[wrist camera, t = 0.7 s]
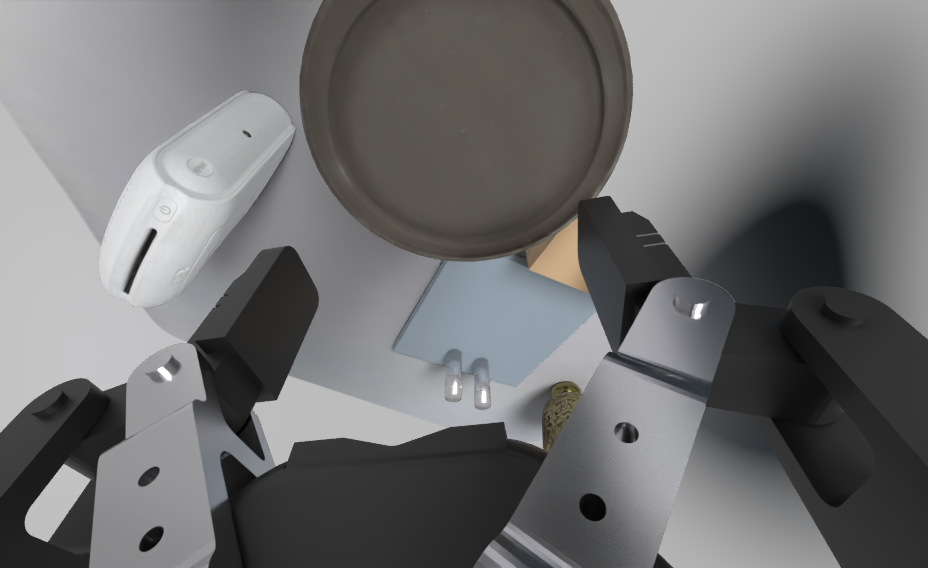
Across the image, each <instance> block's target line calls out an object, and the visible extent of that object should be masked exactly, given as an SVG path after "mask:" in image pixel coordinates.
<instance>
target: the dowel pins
mask: <svg viewBox="0 0 928 568" xmlns="http://www.w3.org/2000/svg"><path fill="white" fill-rule="evenodd" d="M461 396H462V352H461V351H460V350H458V349H451V350H449V351H448V352H447V361H446V382H445V399H446V400H447V401H449V402H458V401H460V400H461ZM474 406H475V408H477V409H479V410H486V409H488V408H490V407H491V400H490V381H489V362H488V360H487V359H486V358H482V357H481V358H477V359H475V360H474Z"/></svg>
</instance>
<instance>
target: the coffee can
mask: <svg viewBox="0 0 928 568" xmlns="http://www.w3.org/2000/svg"><path fill="white" fill-rule="evenodd" d="M632 78H633V76H632V69H631V63H630V54H629V50H628V45H627V41H626V38H625V35H624V31H623V29H622V26H621V23H620V21H619V18H618V15H617V13H616V11H615V9H614V7H613V5H612V4H611V2H610V0H323V2H322V4H321V6H320V8H319V10H318V12H317V14H316V16H315V18H314V20H313V23H312V26H311V29H310V32H309V35H308V38H307V42H306V45H305V49H304V53H303V59H302V66H301V72H300V107H301V115H302V122H303V127H304V132H305V135H306V139H307V142H308V145H309V147H310V150H311V153H312V156H313V159H314V161H315V163H316V166H317V168H318V170H319V172H320V174H321V175H322V177H323V179H324V180H325V182H326V184H327V185H328V187H329V188H330V190H331V191H332V193H333V194H334V195H335V196H336V197H337V199H338V200H339V202H340V203H341V204H342V205H343V206H344V207H345V208H346V209H347V211H348V212H349V213H350V214H351V215H352V216H353V217H355V218H356V219H357V220H358V221H359V222H360V223H361V224H362V225H364V226H365V227H366V228H368V229H369V230H370V231H372V232H373V233H374V234H376V235H378V236H379V237H381V238H383V239H384V240H386V241H388V242H390V243H391V244H393V245H395V246H397V247H399V248H402V249H404V250H407V251H410V252H412V253H415V254H418V255H422V256H425V257H429V258H434V259H439V260H446V261H458V262H475V261H485V260H492V259H498V258H503V257H507V256H510V255H514V254H516V253H519V252H522V251H525V250H527V249H530V248H532V247H534V246H536V245H538V244H540V243H542V242H544V241H546V240H548V239H549V238H551V237H553V236H554V235H556V234H557V233H559V232H560V231H561V230H563V229H564V228H566V227H567V226H568V225H569V224H570V223H571V222H573V221H574V220H575V219H576V218H578V203H579V201H580V200H585V199H592V198H596V197H597V196H598V194H599V193H600V192H601V190H602V189H603V187H604V186H605V184H606V182H607V181H608V179H609V177H610V176H611V174H612V172H613V170H614V168H615V166H616V164H617V162H618V159H619V157H620V155H621V152H622V149H623V146H624V143H625V140H626V137H627V133H628V128H629V122H630V117H631V110H632V96H633V82H632V81H633V79H632Z"/></svg>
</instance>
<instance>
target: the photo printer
mask: <svg viewBox="0 0 928 568" xmlns="http://www.w3.org/2000/svg"><path fill="white" fill-rule="evenodd" d="M291 122H292V121H291V119H290V117H289V115H288V114H287V112H286V111H285V110H284V109H283V107H282V106H281V105H279V104H278V103H277V102H276V101H274V100H273V99H271V98H270V97H268V96H265V95H262V94H259V93H250V92H248V91H247V90H243V91H240V92H238V93H237V94H235V95H233V96H232V97H230V98H229V99H227V100H226V101H224V102H223V103H221V104H220V105H218V106H217V107H215V108H214V109H212V110H211V111H209V112H208V113H206V114H205V115H203V116H202V117H200V118H199V119H197V120H196V121H194V122H193V123H191V124H190V125H188V126H187V127H185V128H184V129H182V130H181V131H179V132H178V133H176V134H175V135H173V136H172V137H171V138H169V139H168V140H166V141H165V142H163V143H162V144H160V145H159V146H157V147H156V148H155V149H154V150H153V151H152V152H151V153H150V154H149V155H148V156H147V157H145V159H144V160H143V161H142V162H141V163H140V164H139V166H138V167H137V168H136V170H135V171H134V173H133V175H132V176H131V178H130V180H129V182H128V183H127V185H126V187H125V189H124V191H123V193H122V195H121V196H120V198H119V200H118V202H117V205H116V207H115V209H114V211H113V214H112V216H111V219H110V221H109V224H108V226H107V229H106V232H105V235H104V238H103V242H102V246H101V250H100V256H99V273H100V278H101V281H102V283H103V286H104V287H105V289H106V291H107V292H108V293H109V295H110V296H112V297H114V298H119V299H123V300H125V301H127V302H128V303H129V304H131V305H132V306H133V307H153V306H158V305H161V304H163V303H166V302H168V301H170V300H171V299H173V298H175V297H177V296H178V295H180V294H181V293H182V292H183V291H184V290H185V289H186V288H187V287H188V285H189V284H190V283H191V282H192V281H193V280H194V279H195V278H196V276H197V274H198V272H199V271H200V270H201V269H202V267H203V266H204V265H205V263H206V262H207V261H208V260H209V258H210V257H211V256H212V254H213V253H214V252H215V251H216V249H217V248H218V247H219V246H220V244H221V243H222V242H223V241H224V239H225V238H226V237H227V235H228V234H229V233H230V232H231V231H232V229H233V228H234V227H235V226H236V225H237V223H238V222H239V221H240V220H241V218H242V217H243V216H244V215H245V214H246V213H247V212H248V211H249V208H250V207H251V206H252V204H253V203H254V202H255V200H256V199H257V197H258V196H259V194H260V193H261V192H262V190H263V189H264V187H265V185H266V184H267V182H268V181H269V179H270V178H271V176H272V175H273V173H274V171H275V170H276V168H277V167H278V165H279V163H280V162H281V160H282V158H283V157H284V155H285V153H286V151H287V150H288V148H289V146H290V144H291V142H292V139H293V136H294V133H295V130H296V127H294V126H293V125H292V124H291Z"/></svg>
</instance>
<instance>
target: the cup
mask: <svg viewBox="0 0 928 568" xmlns="http://www.w3.org/2000/svg"><path fill="white" fill-rule="evenodd" d="M581 395H582V394H581V389H580V388H579V387H578V386H577V385H576V384H574V383H572V382H562V383H559V384H556V385H555V386H554V387H553V388H552V389H551V393H550V397H551V399H549V401H548V402H547V403H546V405H545V407H544V410H543V416H542V434H543V448H544V449H543V450H545V451H547V452H549V451H550V450H551V448H552V446H553V444H554V443H555V441H556V439H557V437H558V436H559V434H560V432H561V430H562V429H563V427H564V425H565V423H566V422H567V420H568V418H569V416H570V415H571V413H572V411H573V409H574V408H575V406H576V404H577V402H578V401H579V399H580V397H581Z"/></svg>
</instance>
